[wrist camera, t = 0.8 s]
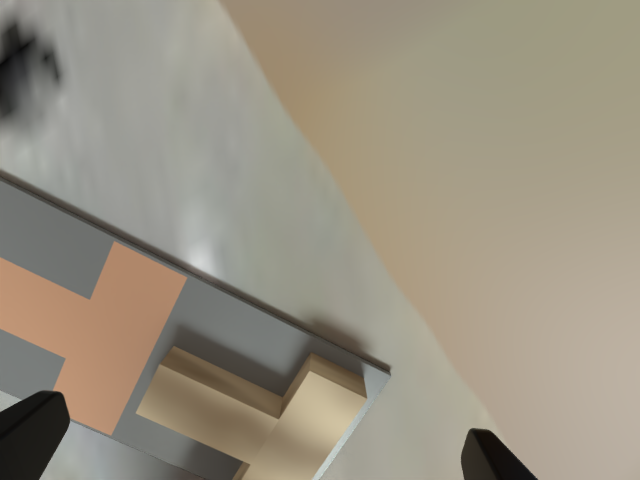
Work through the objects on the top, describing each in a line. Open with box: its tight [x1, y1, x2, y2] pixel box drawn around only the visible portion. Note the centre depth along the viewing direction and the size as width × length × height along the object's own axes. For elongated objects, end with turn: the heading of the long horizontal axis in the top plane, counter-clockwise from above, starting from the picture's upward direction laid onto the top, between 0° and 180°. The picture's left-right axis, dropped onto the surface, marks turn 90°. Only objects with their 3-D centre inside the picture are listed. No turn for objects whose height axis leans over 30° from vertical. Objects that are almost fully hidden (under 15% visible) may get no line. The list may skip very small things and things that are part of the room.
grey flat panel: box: [0, 177, 391, 480], centre depth 23 cm, size 14×30×1 cm, turn 61°
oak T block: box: [136, 346, 367, 480], centre depth 23 cm, size 12×12×2 cm
